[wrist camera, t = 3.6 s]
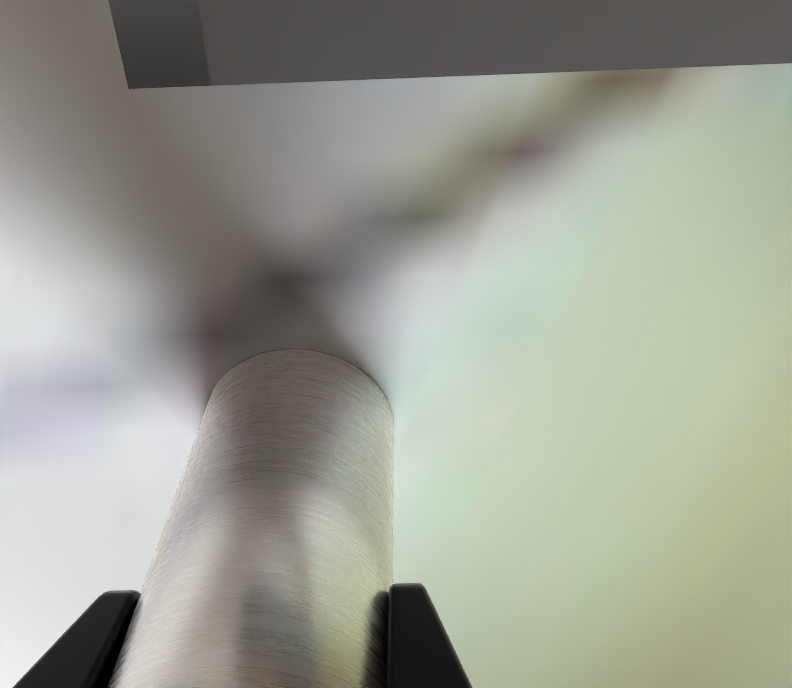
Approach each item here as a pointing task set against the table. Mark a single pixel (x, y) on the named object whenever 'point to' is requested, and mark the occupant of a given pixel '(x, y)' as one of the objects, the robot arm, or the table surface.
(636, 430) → the table surface
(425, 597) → the robot arm
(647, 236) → the table surface
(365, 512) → the handle peg
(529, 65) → the bay
